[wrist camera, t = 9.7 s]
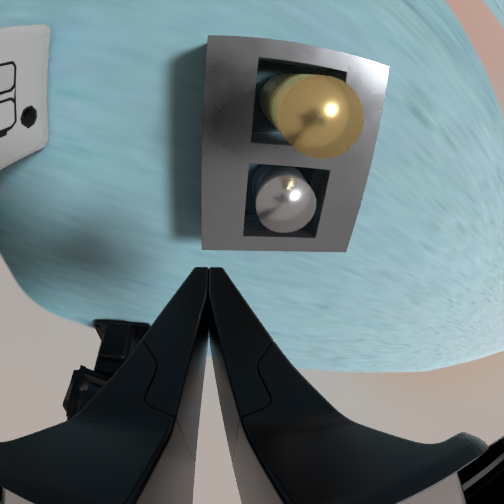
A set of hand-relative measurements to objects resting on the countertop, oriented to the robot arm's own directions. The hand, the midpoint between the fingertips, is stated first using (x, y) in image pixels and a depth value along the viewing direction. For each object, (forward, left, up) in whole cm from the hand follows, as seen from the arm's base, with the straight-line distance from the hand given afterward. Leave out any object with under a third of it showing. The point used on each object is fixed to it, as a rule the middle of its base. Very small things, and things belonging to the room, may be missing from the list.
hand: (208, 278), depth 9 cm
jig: (+1, -4, -11) cm, 12 cm away
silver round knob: (-2, -4, -12) cm, 12 cm away
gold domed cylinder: (+4, -4, -12) cm, 13 cm away
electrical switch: (+6, +15, -12) cm, 20 cm away
